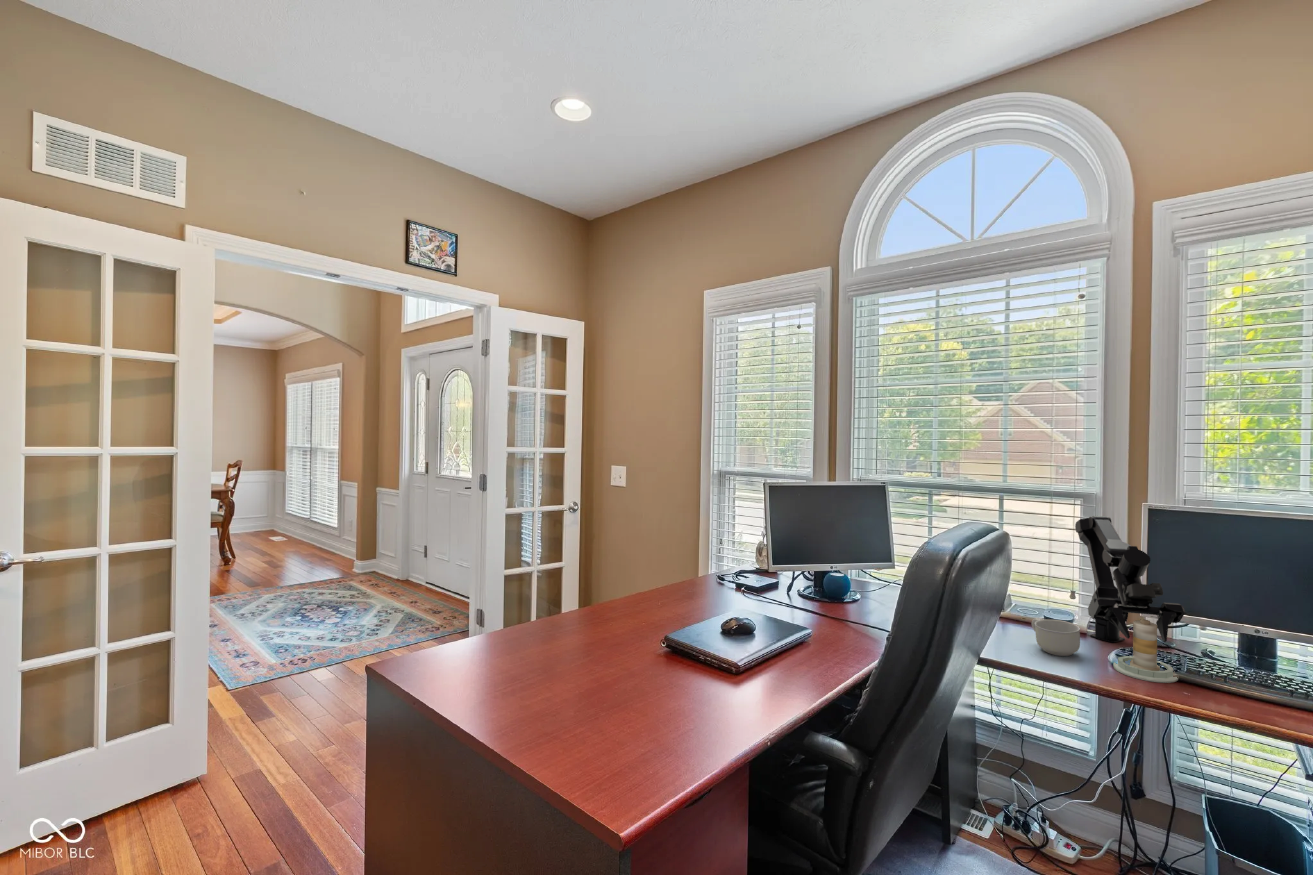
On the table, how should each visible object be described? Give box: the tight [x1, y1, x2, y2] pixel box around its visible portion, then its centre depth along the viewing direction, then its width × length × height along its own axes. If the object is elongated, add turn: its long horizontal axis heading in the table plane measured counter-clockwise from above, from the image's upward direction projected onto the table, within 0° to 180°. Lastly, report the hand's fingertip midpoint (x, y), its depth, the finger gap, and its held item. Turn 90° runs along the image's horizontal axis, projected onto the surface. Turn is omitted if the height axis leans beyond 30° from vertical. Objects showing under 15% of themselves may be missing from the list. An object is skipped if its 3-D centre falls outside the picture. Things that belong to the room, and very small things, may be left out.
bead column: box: [1130, 618, 1160, 671], centre depth 153 cm, size 6×6×13 cm
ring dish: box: [1113, 655, 1179, 684], centre depth 153 cm, size 13×13×2 cm
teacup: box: [1031, 617, 1081, 657], centre depth 170 cm, size 14×11×8 cm
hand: (1146, 639), depth 152 cm, fingers open, 7 cm apart
